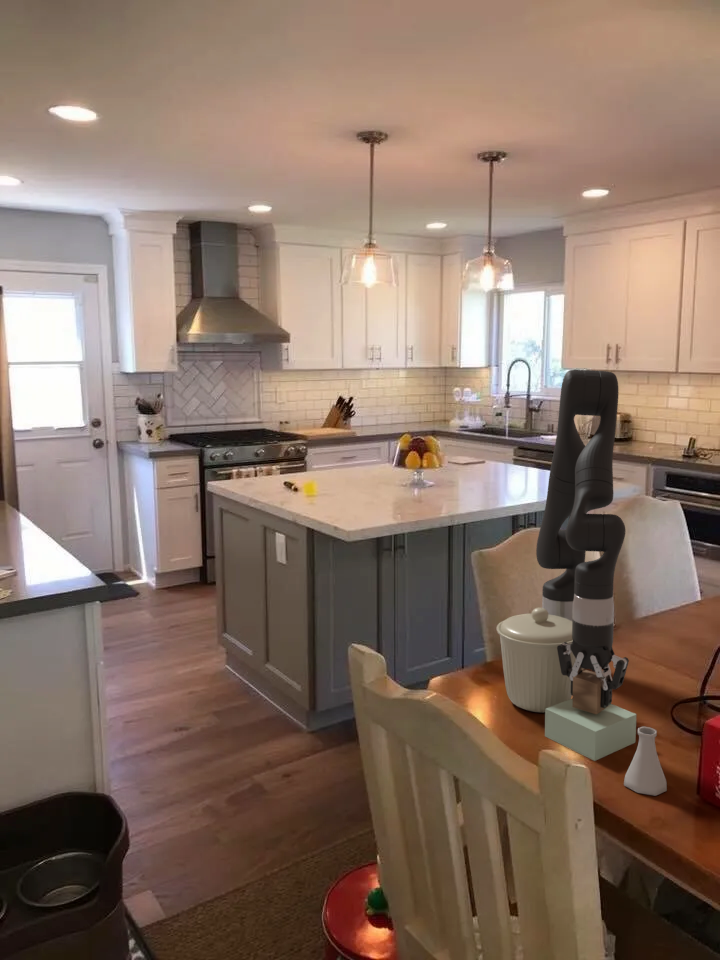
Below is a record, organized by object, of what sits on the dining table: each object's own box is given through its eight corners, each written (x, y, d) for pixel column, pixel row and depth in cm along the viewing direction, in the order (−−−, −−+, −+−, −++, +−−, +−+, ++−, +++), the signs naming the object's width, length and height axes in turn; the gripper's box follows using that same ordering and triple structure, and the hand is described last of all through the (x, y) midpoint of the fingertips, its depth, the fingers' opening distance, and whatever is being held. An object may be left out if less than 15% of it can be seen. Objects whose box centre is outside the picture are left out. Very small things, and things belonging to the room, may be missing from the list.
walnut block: (572, 707, 150) (573, 677, 149) (584, 698, 154) (585, 669, 153) (596, 714, 147) (597, 684, 146) (608, 705, 150) (609, 676, 150)
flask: (632, 770, 140) (634, 717, 138) (673, 783, 135) (676, 728, 134) (616, 787, 134) (618, 732, 133) (659, 801, 130) (661, 744, 128)
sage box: (544, 737, 153) (545, 708, 152) (585, 721, 160) (585, 693, 159) (594, 762, 143) (595, 731, 142) (635, 743, 150) (636, 714, 149)
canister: (598, 702, 167) (601, 607, 164) (550, 730, 155) (552, 628, 152) (527, 679, 181) (529, 590, 178) (478, 702, 168) (479, 608, 165)
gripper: (638, 620, 146) (635, 706, 148) (568, 605, 155) (566, 686, 158) (620, 630, 140) (617, 720, 143) (549, 614, 150) (547, 698, 152)
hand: (590, 701), depth 150 cm, fingers open, 5 cm apart
